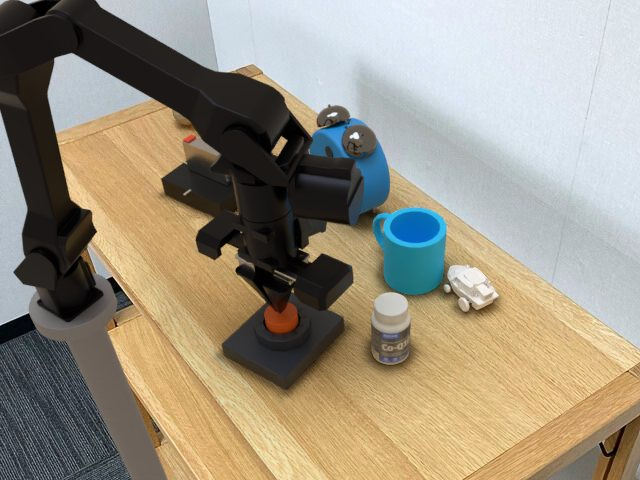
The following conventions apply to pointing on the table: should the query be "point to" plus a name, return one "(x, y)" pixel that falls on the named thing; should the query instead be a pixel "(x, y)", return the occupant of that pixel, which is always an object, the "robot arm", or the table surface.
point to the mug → (412, 249)
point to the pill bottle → (390, 328)
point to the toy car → (470, 287)
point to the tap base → (199, 191)
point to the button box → (283, 343)
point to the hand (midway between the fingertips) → (280, 310)
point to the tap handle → (202, 159)
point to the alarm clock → (354, 151)
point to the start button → (281, 319)
